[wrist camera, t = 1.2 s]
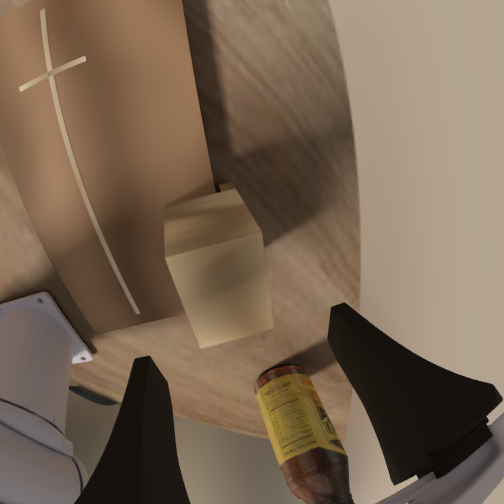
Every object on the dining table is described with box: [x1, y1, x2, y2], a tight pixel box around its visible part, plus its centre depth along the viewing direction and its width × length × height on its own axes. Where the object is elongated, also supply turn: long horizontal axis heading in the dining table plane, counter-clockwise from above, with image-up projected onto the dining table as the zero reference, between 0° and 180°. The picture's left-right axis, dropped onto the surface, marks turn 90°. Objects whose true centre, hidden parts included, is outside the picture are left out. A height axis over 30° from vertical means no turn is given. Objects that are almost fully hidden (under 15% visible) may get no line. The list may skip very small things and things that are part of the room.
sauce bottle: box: [255, 365, 354, 504], centre depth 23 cm, size 6×6×20 cm
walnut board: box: [0, 0, 216, 334], centre depth 14 cm, size 11×22×2 cm, turn 7°
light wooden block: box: [164, 182, 274, 348], centre depth 16 cm, size 4×6×6 cm, turn 7°
